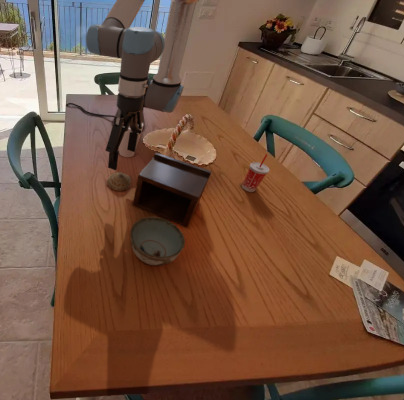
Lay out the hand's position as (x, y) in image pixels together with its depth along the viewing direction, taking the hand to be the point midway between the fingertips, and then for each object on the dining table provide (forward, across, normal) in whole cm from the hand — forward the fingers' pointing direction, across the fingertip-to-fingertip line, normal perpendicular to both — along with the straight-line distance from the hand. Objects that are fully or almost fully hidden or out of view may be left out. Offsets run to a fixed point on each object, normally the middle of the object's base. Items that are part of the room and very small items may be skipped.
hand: (122, 159), depth 88 cm
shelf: (+10, -1, -18) cm, 21 cm away
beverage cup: (+10, +25, -40) cm, 48 cm away
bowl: (+11, -23, -22) cm, 33 cm away
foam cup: (+10, +20, +7) cm, 24 cm away
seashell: (+10, 0, 0) cm, 10 cm away
